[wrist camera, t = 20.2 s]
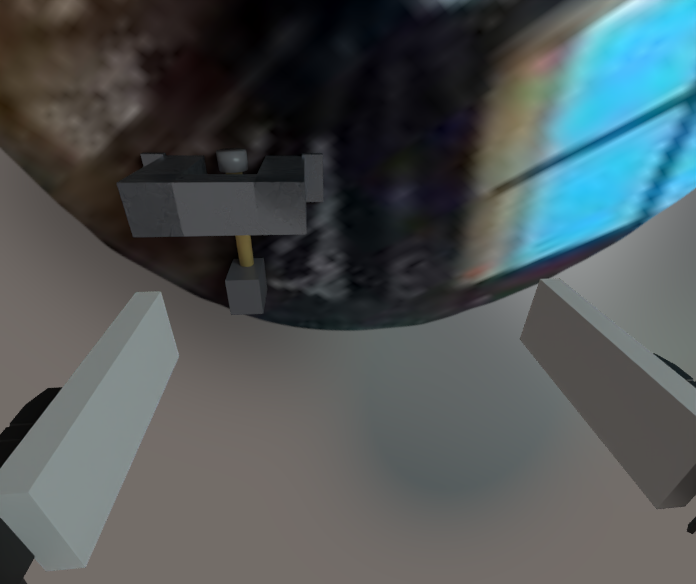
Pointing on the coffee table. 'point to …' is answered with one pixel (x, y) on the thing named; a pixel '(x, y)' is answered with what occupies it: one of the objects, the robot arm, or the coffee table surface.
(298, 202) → the housing
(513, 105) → the coffee table surface
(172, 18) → the coffee table surface
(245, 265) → the yellow handled grey mallet
